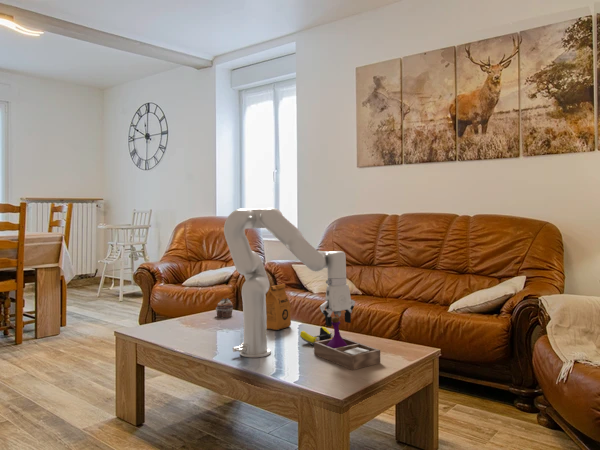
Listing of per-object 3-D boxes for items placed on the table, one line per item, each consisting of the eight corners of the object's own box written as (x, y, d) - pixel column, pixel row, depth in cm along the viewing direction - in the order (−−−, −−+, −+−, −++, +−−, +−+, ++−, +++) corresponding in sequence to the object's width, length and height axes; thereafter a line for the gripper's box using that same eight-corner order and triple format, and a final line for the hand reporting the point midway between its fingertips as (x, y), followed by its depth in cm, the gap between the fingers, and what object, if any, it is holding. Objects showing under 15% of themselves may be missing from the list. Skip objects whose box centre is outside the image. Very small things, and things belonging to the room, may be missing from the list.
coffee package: (294, 327, 240) (293, 284, 239) (276, 332, 230) (276, 287, 230) (279, 324, 246) (279, 282, 246) (262, 329, 237) (262, 285, 236)
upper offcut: (354, 361, 177) (354, 354, 177) (343, 357, 181) (343, 351, 181) (369, 356, 182) (368, 350, 182) (357, 353, 187) (357, 347, 187)
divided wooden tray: (351, 370, 173) (351, 356, 173) (314, 354, 193) (314, 342, 193) (380, 363, 181) (380, 350, 181) (341, 348, 201) (341, 336, 201)
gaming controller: (298, 343, 210) (312, 348, 203) (298, 331, 210) (312, 335, 203) (323, 337, 220) (338, 341, 212) (323, 325, 220) (338, 329, 212)
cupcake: (228, 313, 275) (228, 296, 275) (235, 316, 267) (235, 298, 267) (213, 315, 270) (212, 298, 270) (220, 318, 262) (219, 300, 262)
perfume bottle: (325, 354, 193) (324, 310, 193) (341, 351, 196) (340, 308, 196) (333, 359, 187) (333, 313, 186) (350, 356, 189) (349, 311, 189)
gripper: (325, 285, 183) (326, 329, 183) (359, 280, 192) (361, 322, 193) (314, 283, 189) (315, 325, 189) (347, 278, 199) (349, 319, 199)
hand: (338, 324), depth 191 cm, fingers open, 9 cm apart
